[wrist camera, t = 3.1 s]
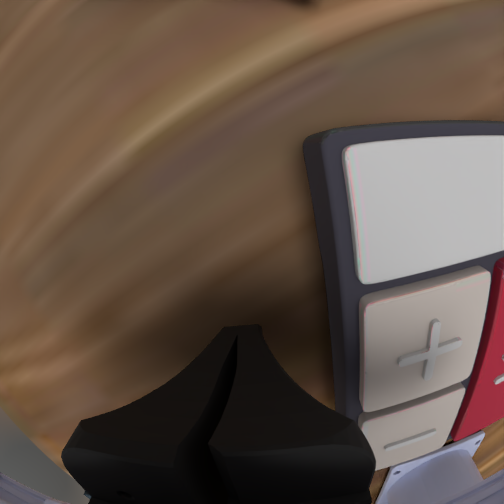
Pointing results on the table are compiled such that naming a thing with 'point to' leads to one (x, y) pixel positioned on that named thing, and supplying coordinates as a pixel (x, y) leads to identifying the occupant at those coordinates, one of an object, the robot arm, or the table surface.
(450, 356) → the calculator
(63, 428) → the table surface
